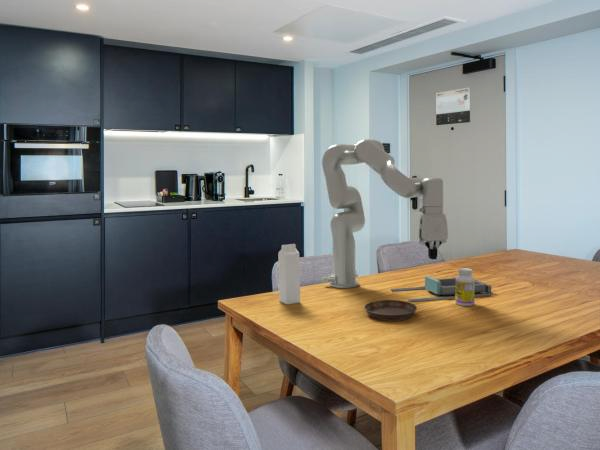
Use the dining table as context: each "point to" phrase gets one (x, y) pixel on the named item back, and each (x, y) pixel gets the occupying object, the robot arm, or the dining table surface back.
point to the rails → (487, 293)
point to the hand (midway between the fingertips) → (432, 258)
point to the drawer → (447, 286)
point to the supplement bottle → (465, 287)
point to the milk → (289, 274)
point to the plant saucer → (390, 310)
